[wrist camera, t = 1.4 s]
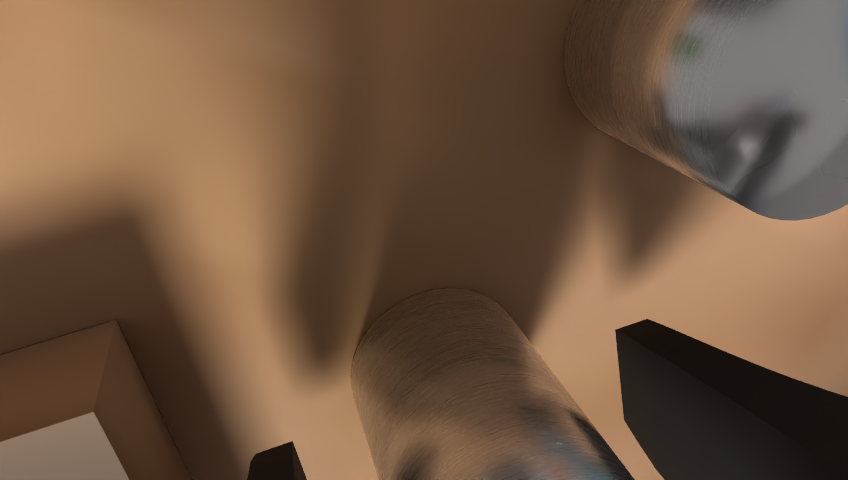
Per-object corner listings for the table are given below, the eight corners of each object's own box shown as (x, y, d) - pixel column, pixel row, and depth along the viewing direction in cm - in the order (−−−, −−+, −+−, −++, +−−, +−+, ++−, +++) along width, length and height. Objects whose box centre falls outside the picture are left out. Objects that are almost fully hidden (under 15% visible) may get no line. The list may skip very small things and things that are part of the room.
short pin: (740, 111, 13) (930, 179, 10) (575, 161, 13) (712, 251, 9) (740, -84, 12) (964, -87, 8) (553, -36, 11) (706, -17, 8)
